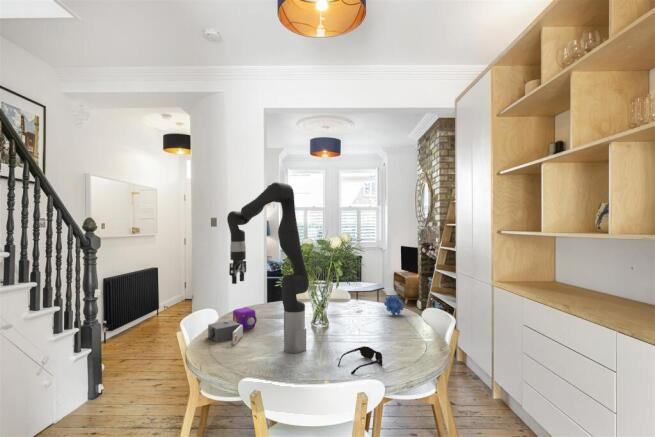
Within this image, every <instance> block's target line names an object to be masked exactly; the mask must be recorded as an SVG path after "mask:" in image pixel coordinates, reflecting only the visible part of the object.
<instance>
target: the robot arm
mask: <svg viewBox="0 0 655 437" xmlns="http://www.w3.org/2000/svg"><path fill="white" fill-rule="evenodd" d="M271 203H279V204H280V206H281V210H282V214H281V215H282V217H281V218H280V219H281V220H280V222H279V225H278V228H277V230H278V231H277V235H278V241H279V242H278V243H279V246H280V248H281V250H282V252H283V253H284V254H285V255H286V257H287V259H288V260H289V262H290V263H291V266H292V270H293V273H287V274H285V275H284V276H283V277H282V279H281V299H282V300H281V301H282V305H283V350H284V352H286V353H289V354H295V355H296V354H300V353H301V352H305V351H307V328H306V304H305V302H302V301H300V300H298V298H297V295H300V294H305V293H306V292H307V291H308V290H309V288H310V287H309V286H310V284H309V283H310V281H309V277H308V271H307V269H306V266H305V262H304V256H303V252H302V251H303V250H302V247H301V240H300V233H299V229H298V228H299V227H298V224H297V216H296V204H295V191H294V189H293V187H292V186H291V185H290V184H288V183H283V182H277V181H275V182H272V183H271V184H269V185H268V186H267V187H266V188H265V189H264V190H263V191H262V192H261V193H260V194H259V195H258V196H257V197H256V198H255V199H253V200H252V201H250V202H248V203H247V204H246V205H244V206H242V207H241V209H240V211H239V210H237V211H235V210H233V211H232V210H231V211H229V213H228V214H227V218H226V219H227V221H226V222H227V225H228V229H229V233H230V252H229V253H230V254H229V256H230V260H231V261H232V262H231V263H229V272H228V273H229V274H228V275H229V276H231V284H232V285H236V284H237V283H238V282H237V280H238V279H237V278H238V276H237V275H238V273H239V281H240V282H244V281H245V274H246V273H247V261H246V257H247V256H246V255H247V254H246V252H247V251H246V250H247V248H246V232H245V231H244V230H243V229H241V228H240V227H239V226H244V225H247V224H248V223H249V222H250V221H251V219H252V218H254V217H256V216H258V215H259V214H260V213H262V212H263V210H264V208H265V207H266V206H267V205H269V204H271Z"/></svg>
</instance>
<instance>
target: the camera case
mask: <svg viewBox="0 0 655 437" xmlns="http://www.w3.org/2000/svg"><path fill="white" fill-rule="evenodd" d="M240 325H241V324H239V323H237V322H235V321H233V319H229V320H225V321H220V322H215V323H209V324H208V325H207V337H208V338H209V339H210V340H212V341H214V342H215V343H216V342H217V343H219V342H223V341H227V340H233V332H234V331H235V330H236V329H237V328H238V327H239V326H240Z"/></svg>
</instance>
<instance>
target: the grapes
mask: <svg viewBox="0 0 655 437" xmlns="http://www.w3.org/2000/svg"><path fill="white" fill-rule="evenodd" d="M383 304H384V306H385V309H386V311H387V312H390V314H392V315H396V314H397V315H400V314H401V311H404V306H403V305H404V301H403V300H400V296H398V295H395V296H394V294H390V295H389V296H386V297H385V301H384V303H383Z"/></svg>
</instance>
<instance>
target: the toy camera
mask: <svg viewBox="0 0 655 437" xmlns="http://www.w3.org/2000/svg"><path fill="white" fill-rule="evenodd" d="M232 321H235V322H237V323H239V324H241V325H243V330H247V329H252V328H255V327H256V324H257V317H256V310H255V309H252V308H249V307H248V306H244V307H241V308H235V309H234V310H233V312H232Z"/></svg>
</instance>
